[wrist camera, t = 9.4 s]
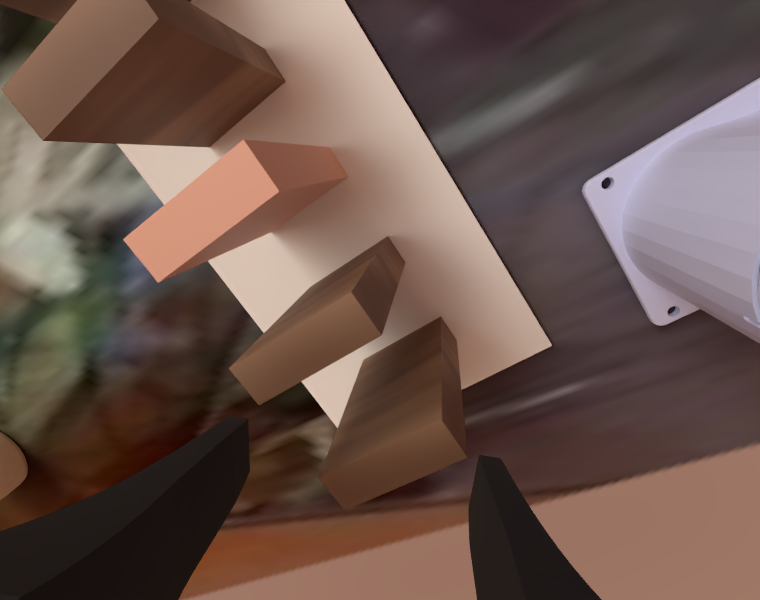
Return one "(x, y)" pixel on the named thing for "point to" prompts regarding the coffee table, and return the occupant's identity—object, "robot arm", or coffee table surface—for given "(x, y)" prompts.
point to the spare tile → (234, 204)
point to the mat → (355, 198)
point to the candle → (11, 466)
